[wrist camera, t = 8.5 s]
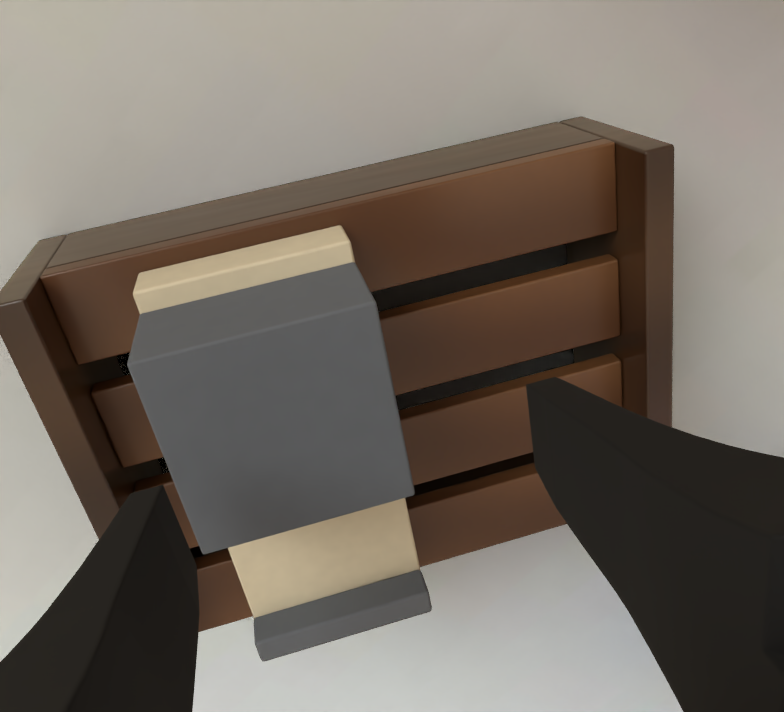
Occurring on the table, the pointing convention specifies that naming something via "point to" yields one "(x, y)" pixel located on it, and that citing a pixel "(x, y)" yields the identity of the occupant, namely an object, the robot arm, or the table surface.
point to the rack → (389, 319)
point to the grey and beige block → (284, 433)
